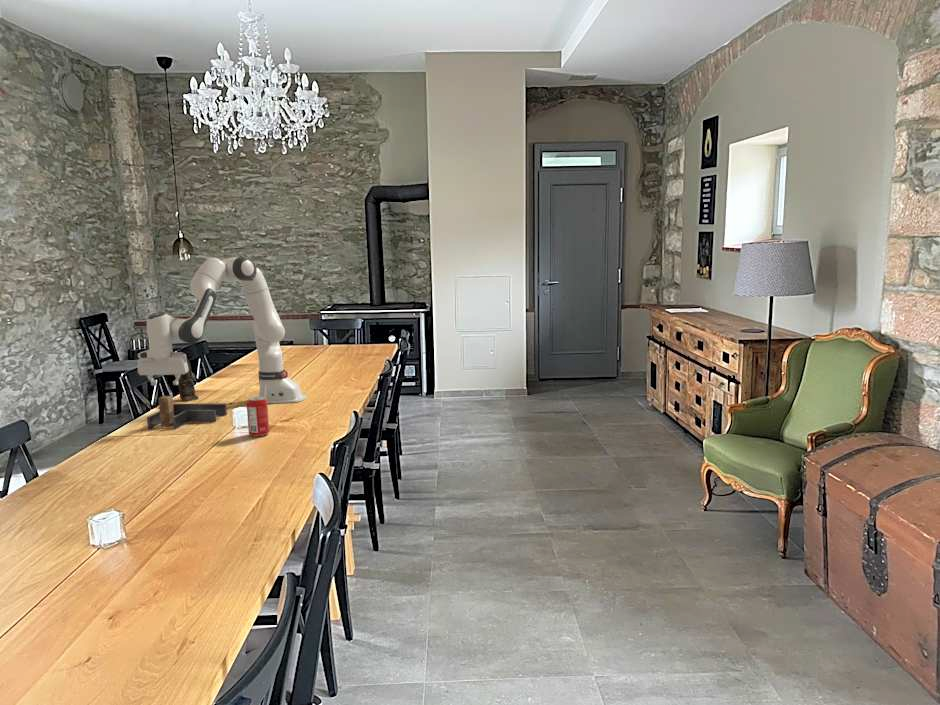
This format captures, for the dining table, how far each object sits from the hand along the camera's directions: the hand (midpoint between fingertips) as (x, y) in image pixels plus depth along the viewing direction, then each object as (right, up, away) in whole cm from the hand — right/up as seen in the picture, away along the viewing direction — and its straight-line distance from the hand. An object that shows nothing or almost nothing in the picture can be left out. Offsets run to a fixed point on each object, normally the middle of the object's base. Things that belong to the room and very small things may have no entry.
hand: (165, 385), depth 302 cm
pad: (0, -17, +3) cm, 17 cm away
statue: (-10, -9, +50) cm, 52 cm away
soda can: (+43, -19, -13) cm, 49 cm away
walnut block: (0, -17, +3) cm, 17 cm away
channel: (+6, -16, +9) cm, 20 cm away
